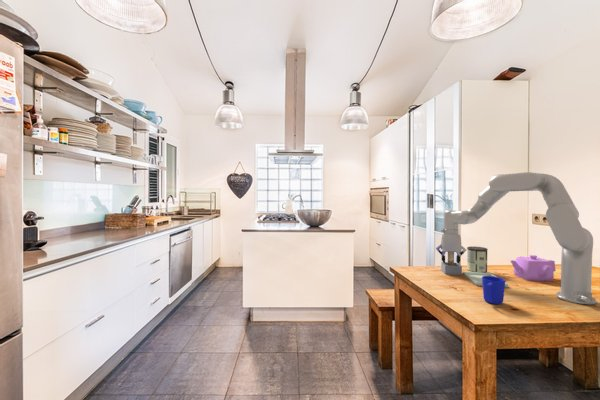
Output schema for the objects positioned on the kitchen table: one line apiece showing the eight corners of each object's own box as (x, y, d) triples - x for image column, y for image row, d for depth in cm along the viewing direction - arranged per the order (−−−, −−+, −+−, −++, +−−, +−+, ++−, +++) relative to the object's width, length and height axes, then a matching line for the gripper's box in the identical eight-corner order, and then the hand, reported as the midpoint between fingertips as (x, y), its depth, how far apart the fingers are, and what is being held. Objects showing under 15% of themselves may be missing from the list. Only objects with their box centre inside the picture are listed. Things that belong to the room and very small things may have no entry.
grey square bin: (461, 276, 159) (461, 266, 159) (445, 275, 161) (445, 265, 161) (457, 272, 168) (457, 262, 168) (441, 271, 170) (441, 261, 170)
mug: (476, 304, 119) (477, 280, 118) (484, 297, 127) (484, 274, 127) (500, 310, 113) (501, 284, 113) (506, 302, 121) (507, 278, 121)
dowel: (454, 273, 164) (454, 248, 163) (448, 272, 164) (448, 248, 164) (452, 271, 167) (453, 247, 166) (446, 271, 167) (447, 247, 167)
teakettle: (556, 278, 156) (556, 255, 155) (550, 284, 145) (550, 260, 144) (517, 271, 169) (518, 251, 168) (509, 277, 158) (509, 255, 157)
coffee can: (474, 268, 175) (475, 245, 175) (491, 273, 166) (491, 248, 166) (462, 270, 172) (463, 247, 171) (479, 274, 162) (479, 250, 162)
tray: (508, 287, 140) (508, 284, 140) (476, 285, 143) (476, 282, 143) (491, 276, 159) (491, 273, 159) (463, 274, 162) (463, 271, 162)
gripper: (436, 232, 163) (436, 263, 164) (469, 233, 159) (469, 264, 160) (433, 230, 171) (433, 260, 171) (465, 231, 167) (465, 261, 167)
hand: (450, 262), depth 165 cm, fingers open, 6 cm apart
